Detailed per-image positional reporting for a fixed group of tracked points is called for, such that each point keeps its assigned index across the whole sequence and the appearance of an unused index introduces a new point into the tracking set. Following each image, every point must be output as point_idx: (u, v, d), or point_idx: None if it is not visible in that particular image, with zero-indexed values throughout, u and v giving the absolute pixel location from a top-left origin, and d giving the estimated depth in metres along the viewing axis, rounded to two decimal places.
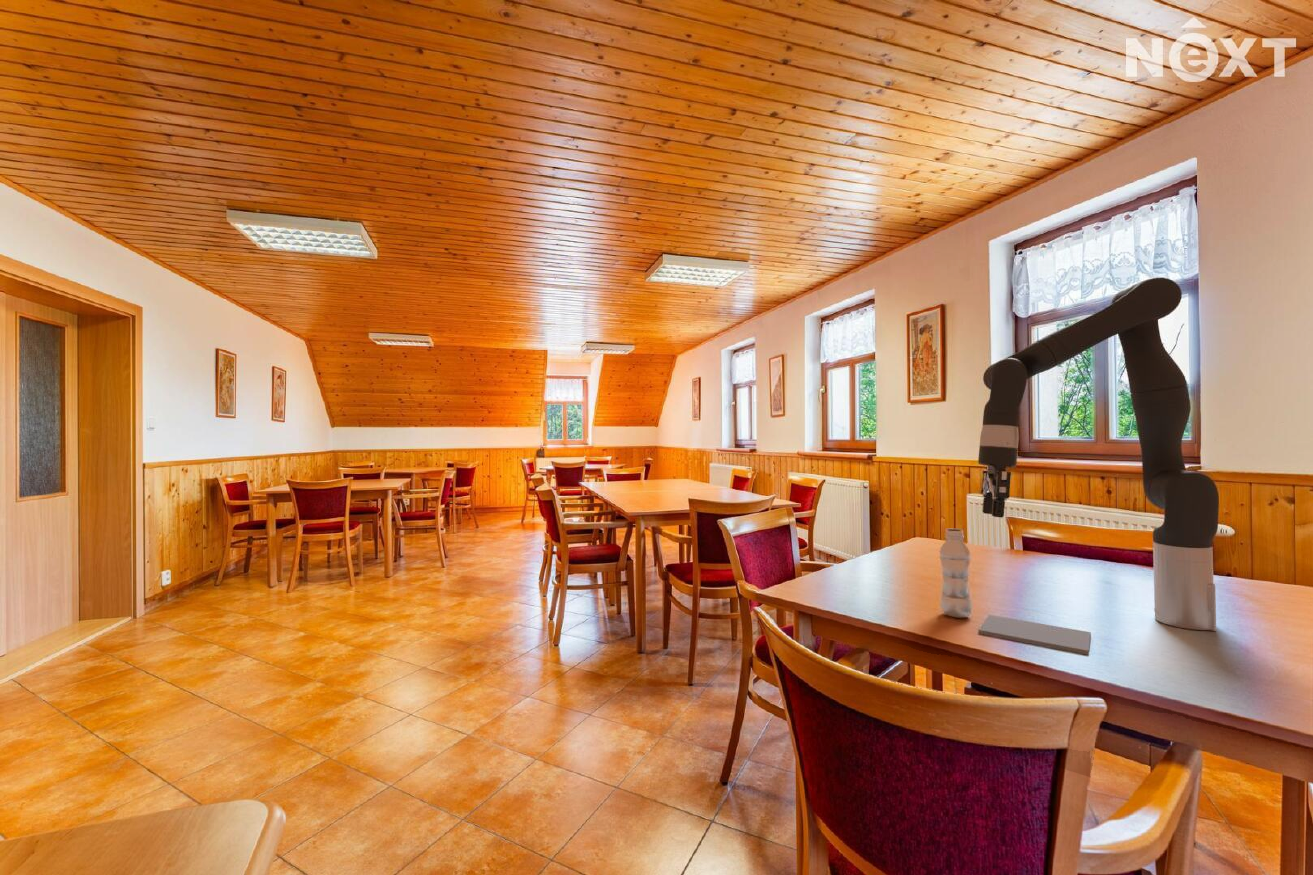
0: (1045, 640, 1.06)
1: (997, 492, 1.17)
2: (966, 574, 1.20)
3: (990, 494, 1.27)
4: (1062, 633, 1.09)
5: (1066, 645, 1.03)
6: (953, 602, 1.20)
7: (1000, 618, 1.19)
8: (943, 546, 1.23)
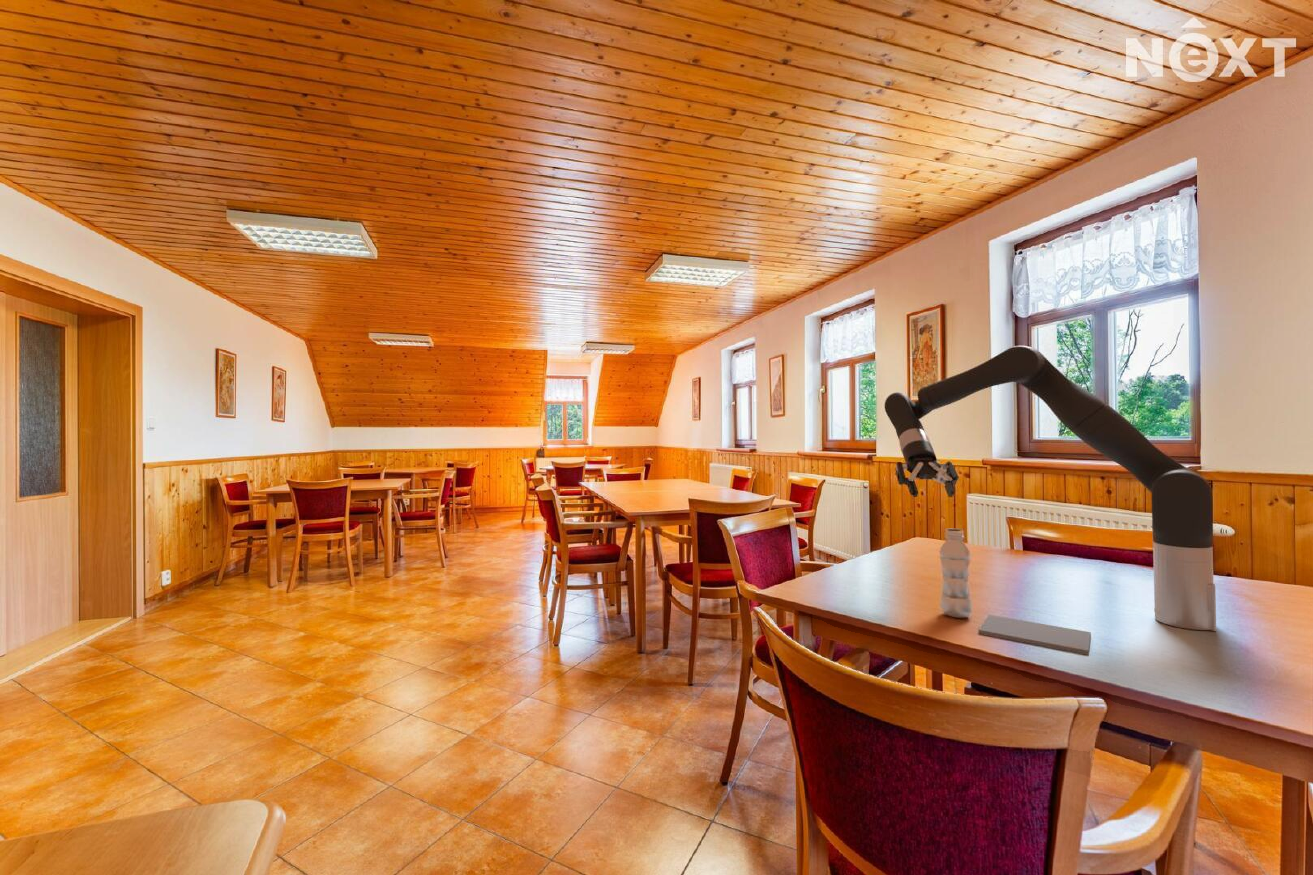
0: (1045, 640, 1.06)
1: None
2: (966, 574, 1.20)
3: (945, 480, 1.37)
4: (1062, 633, 1.09)
5: (1066, 645, 1.03)
6: (953, 602, 1.20)
7: (1000, 618, 1.19)
8: (943, 546, 1.23)
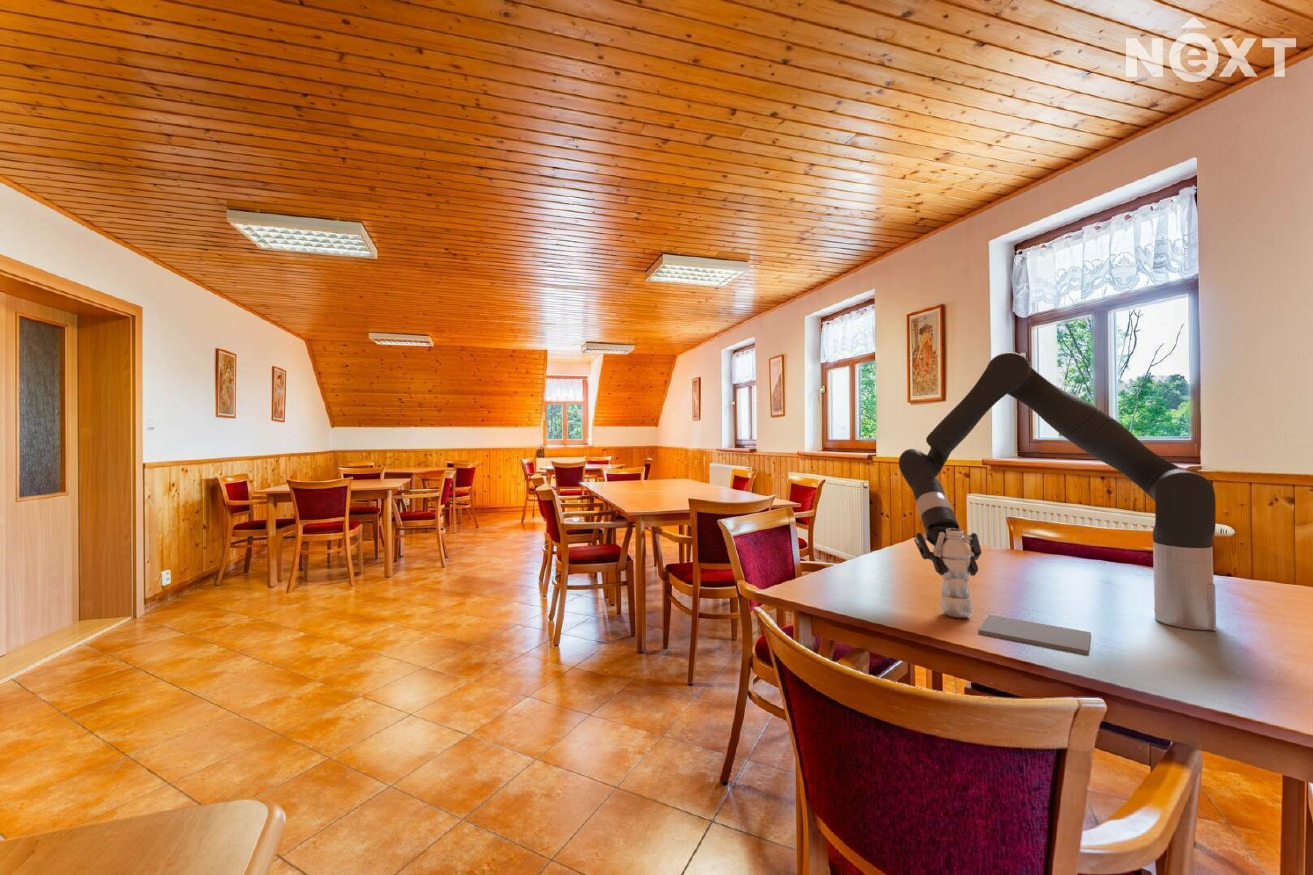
0: (1045, 640, 1.06)
1: None
2: (966, 574, 1.20)
3: None
4: (1062, 633, 1.09)
5: (1066, 645, 1.03)
6: (953, 602, 1.20)
7: (1000, 618, 1.19)
8: (943, 546, 1.23)
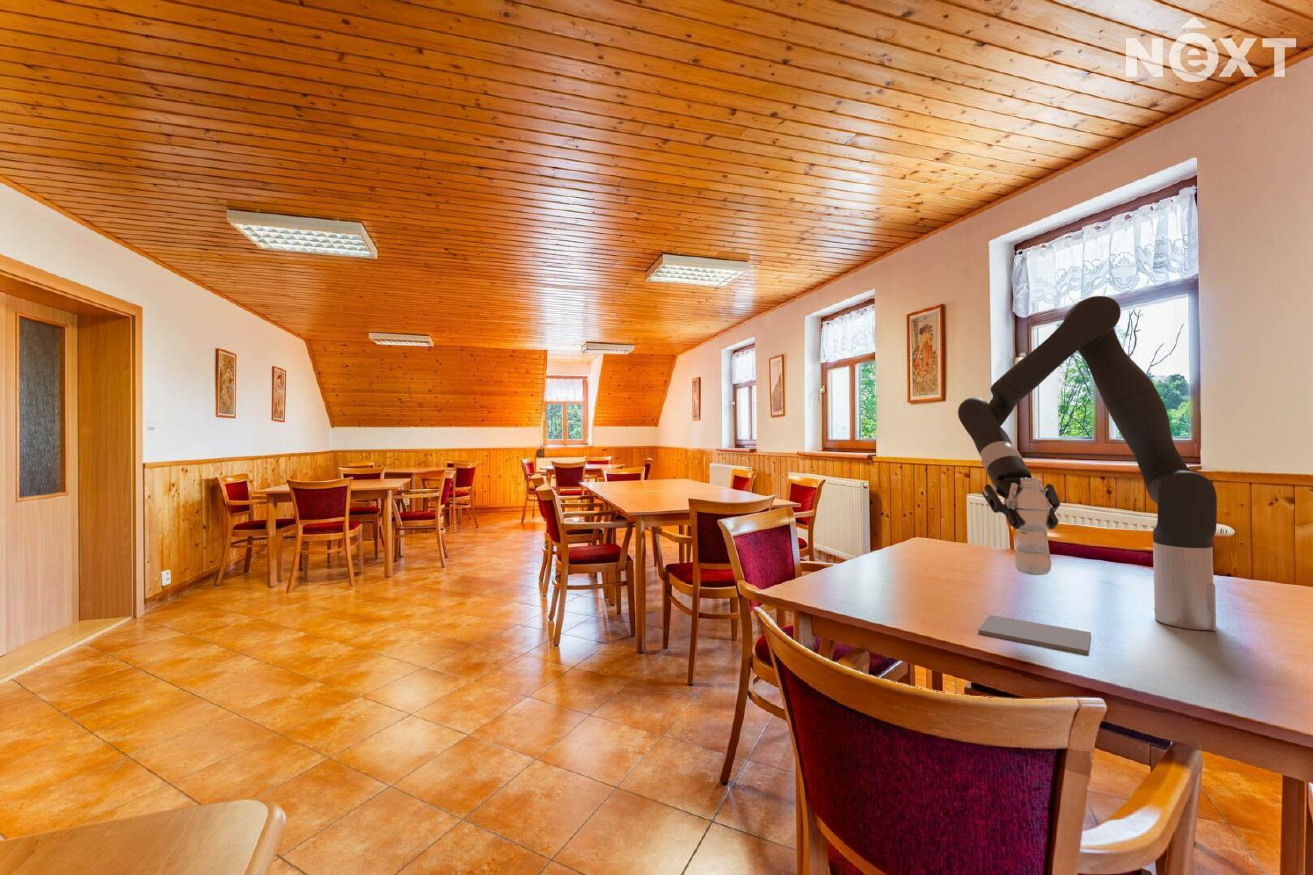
0: (1045, 640, 1.06)
1: (992, 508, 1.14)
2: (1045, 527, 1.08)
3: None
4: (1062, 633, 1.09)
5: (1066, 645, 1.03)
6: (1030, 558, 1.08)
7: (1000, 618, 1.19)
8: (1018, 497, 1.11)
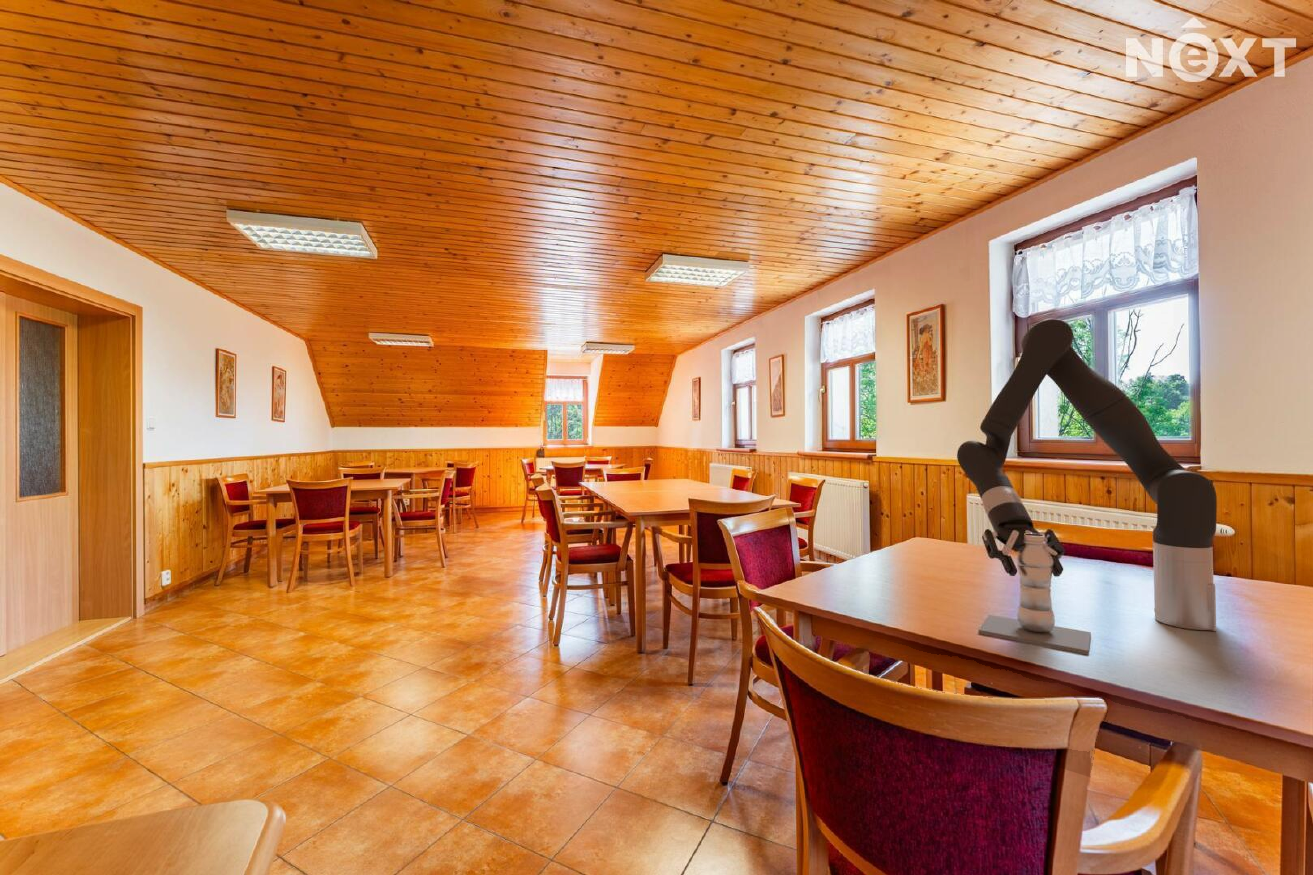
0: (1045, 640, 1.06)
1: None
2: (1049, 584, 1.08)
3: None
4: (1062, 633, 1.09)
5: (1066, 645, 1.03)
6: (1035, 615, 1.08)
7: (1000, 618, 1.19)
8: (1022, 553, 1.11)
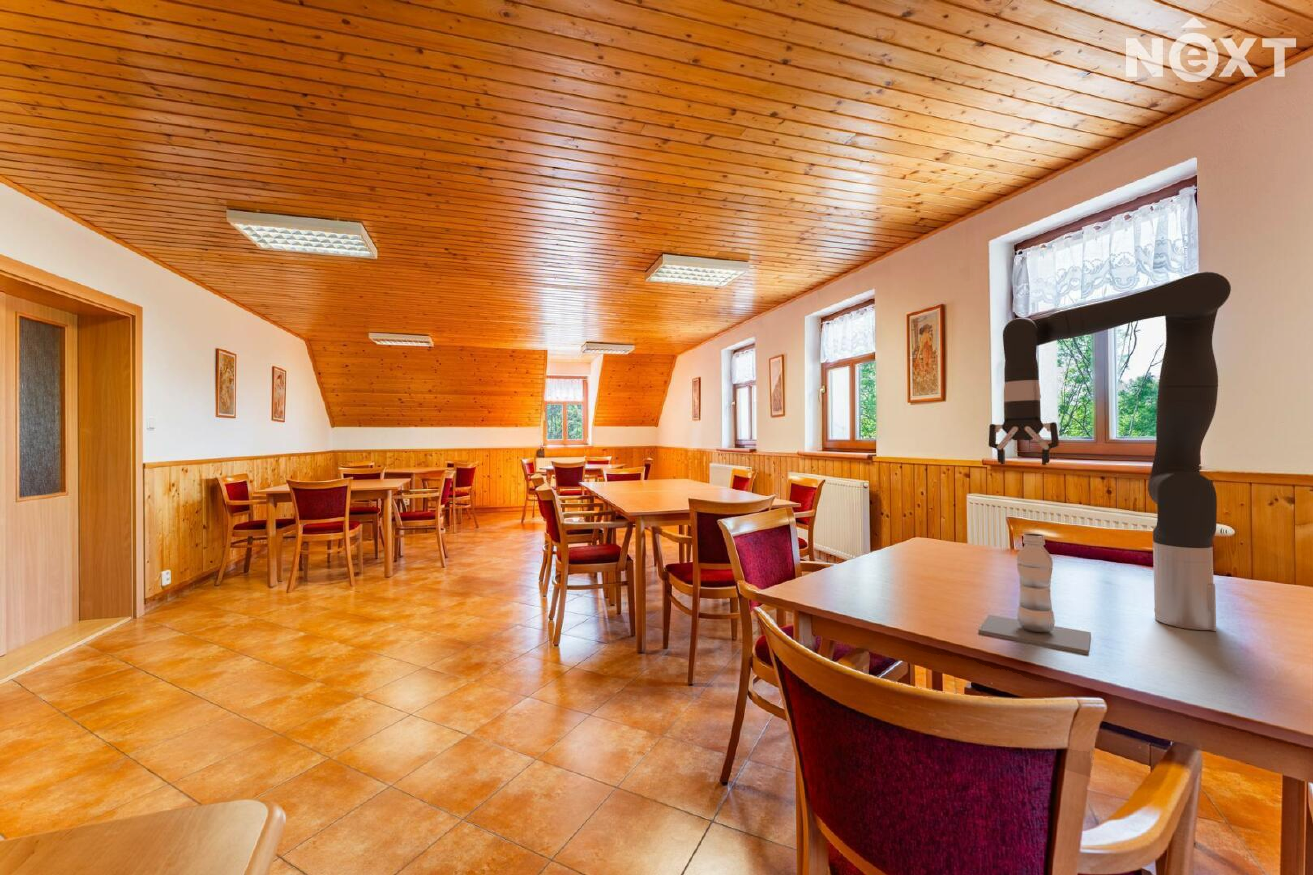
0: (1045, 640, 1.06)
1: None
2: (1049, 584, 1.08)
3: None
4: (1062, 633, 1.09)
5: (1066, 645, 1.03)
6: (1035, 615, 1.08)
7: (1000, 618, 1.19)
8: (1022, 553, 1.11)
